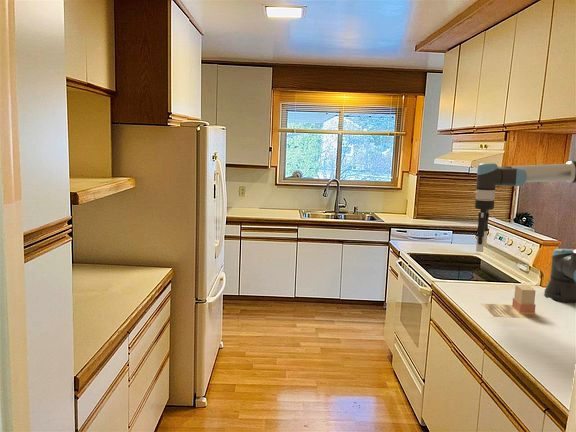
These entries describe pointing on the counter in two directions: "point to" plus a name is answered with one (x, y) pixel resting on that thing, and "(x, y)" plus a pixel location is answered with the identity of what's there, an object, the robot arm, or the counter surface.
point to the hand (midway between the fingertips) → (481, 248)
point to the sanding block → (524, 299)
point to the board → (506, 311)
